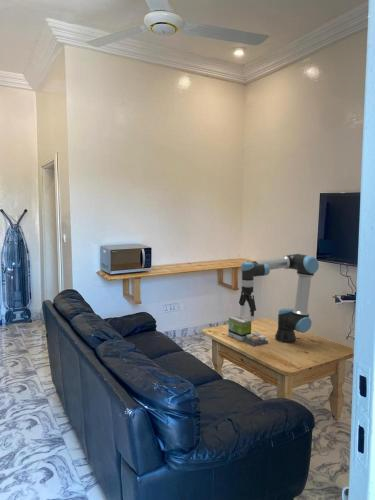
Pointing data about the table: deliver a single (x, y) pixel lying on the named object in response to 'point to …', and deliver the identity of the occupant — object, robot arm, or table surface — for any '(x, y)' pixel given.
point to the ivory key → (261, 338)
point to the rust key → (255, 339)
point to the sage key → (249, 337)
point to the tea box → (239, 327)
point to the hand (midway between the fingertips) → (246, 317)
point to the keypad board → (255, 343)
